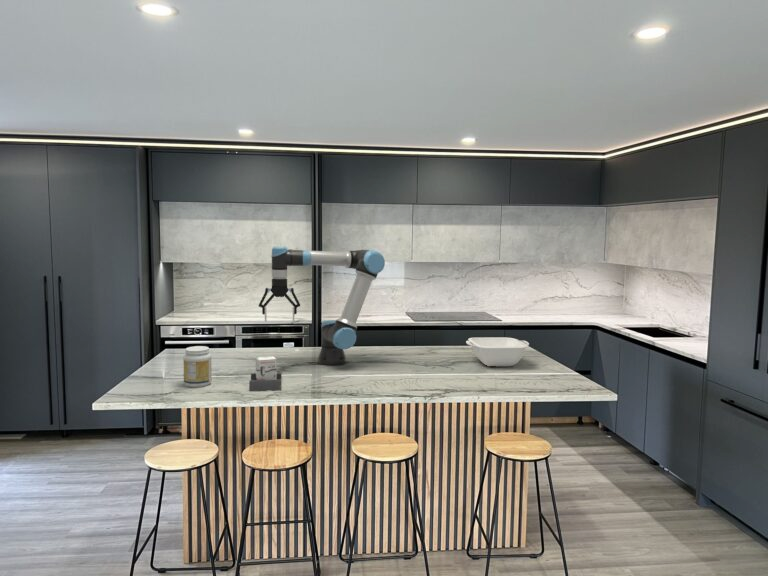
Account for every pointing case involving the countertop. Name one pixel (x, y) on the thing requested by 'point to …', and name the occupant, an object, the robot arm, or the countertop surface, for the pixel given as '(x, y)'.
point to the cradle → (264, 383)
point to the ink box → (266, 368)
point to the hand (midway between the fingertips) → (279, 320)
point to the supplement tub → (197, 366)
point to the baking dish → (498, 350)
